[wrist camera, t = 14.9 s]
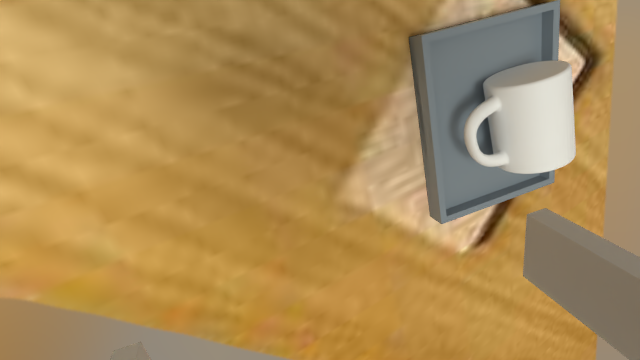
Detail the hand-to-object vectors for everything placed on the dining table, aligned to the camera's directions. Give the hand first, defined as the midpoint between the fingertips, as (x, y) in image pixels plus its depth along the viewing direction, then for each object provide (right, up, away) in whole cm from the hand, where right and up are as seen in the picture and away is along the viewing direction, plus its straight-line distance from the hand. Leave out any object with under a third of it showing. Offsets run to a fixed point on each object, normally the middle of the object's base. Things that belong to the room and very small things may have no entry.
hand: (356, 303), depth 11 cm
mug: (+19, +11, +30) cm, 37 cm away
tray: (+19, +12, +31) cm, 38 cm away
